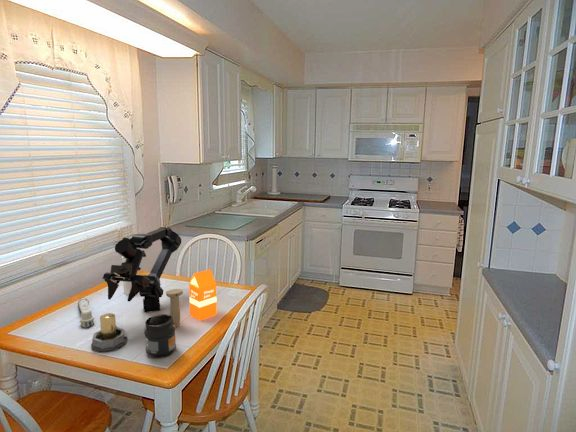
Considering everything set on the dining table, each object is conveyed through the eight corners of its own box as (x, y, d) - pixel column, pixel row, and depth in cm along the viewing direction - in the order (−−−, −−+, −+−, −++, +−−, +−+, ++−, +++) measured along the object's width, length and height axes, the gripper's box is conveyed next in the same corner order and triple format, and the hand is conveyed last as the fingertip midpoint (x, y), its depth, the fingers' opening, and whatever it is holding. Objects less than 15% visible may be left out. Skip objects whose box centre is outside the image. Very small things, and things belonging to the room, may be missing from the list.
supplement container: (181, 345, 139) (180, 315, 137) (166, 361, 129) (165, 328, 127) (156, 341, 142) (154, 312, 139) (139, 356, 131) (137, 324, 129)
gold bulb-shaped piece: (114, 336, 143) (112, 311, 142) (120, 341, 140) (118, 316, 138) (98, 341, 140) (96, 316, 138) (104, 347, 136) (102, 321, 134)
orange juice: (217, 314, 165) (216, 271, 161) (199, 321, 159) (198, 276, 155) (206, 309, 170) (205, 266, 167) (189, 315, 164) (188, 271, 160)
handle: (185, 326, 154) (184, 291, 151) (170, 330, 150) (168, 295, 147) (181, 321, 158) (179, 287, 155) (165, 325, 154) (164, 291, 151)
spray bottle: (123, 290, 189) (120, 242, 184) (138, 288, 192) (135, 241, 187) (124, 295, 183) (121, 246, 179) (138, 293, 186) (136, 244, 181)
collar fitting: (127, 333, 147) (127, 324, 146) (125, 349, 136) (125, 339, 135) (93, 338, 143) (93, 328, 142) (88, 354, 132) (88, 344, 131)
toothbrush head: (88, 296, 173) (93, 309, 152) (90, 310, 173) (95, 325, 152) (75, 298, 170) (79, 312, 149) (77, 312, 171) (80, 328, 149)
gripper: (101, 253, 149) (85, 291, 142) (140, 256, 144) (125, 295, 137) (118, 264, 159) (104, 300, 152) (156, 267, 153) (143, 304, 146)
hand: (118, 300), depth 146 cm, fingers open, 9 cm apart
